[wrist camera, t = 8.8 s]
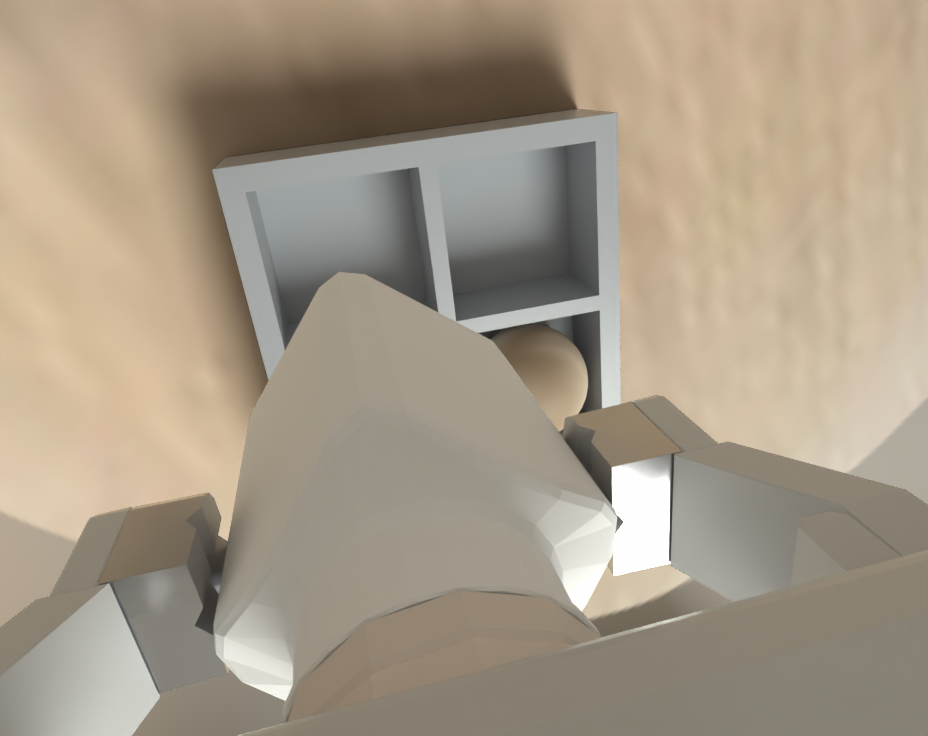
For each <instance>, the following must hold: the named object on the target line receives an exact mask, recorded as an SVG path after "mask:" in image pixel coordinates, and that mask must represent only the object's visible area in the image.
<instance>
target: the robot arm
mask: <svg viewBox="0 0 928 736" xmlns="http://www.w3.org/2000/svg"><path fill="white" fill-rule="evenodd" d="M564 439H565V441H566V442H567V444H568V445H569V446H570V448H571V449H572V451H573V452H574V453H575V455H576V456H577V458H578V459H579V460H580V462H581V463H582V464H583V466H584V467H585V469H586V470H587V471H588V473H589V474H590V475H591V477H592V478H593V480H594V481H595V483H596V484H597V485H598V487H599V488H600V489H601V491H602V492H603V494H604V495H605V496H606V498H607V499H608V501H609V502H610V503H611V505H612V506H613V507H614V509H615V510H616V514H617V523H616V532H615V541H614V549H613V555H612V557H611V559H610V561H609V563H608V564H607V565H608V567H609V569H610V570H611V572H612V573H613V575H614V576H615V575H620V574H624V573H629V572H633V571H637V570H642V569H646V568H651V567H655V566H660V565H664V564H669V563H671V566H672V567H674V568H676V569H677V570H679V571H681V572H683V573H684V574H686V575H688V576H690V577H691V578H693V579H695V580H697V581H698V582H700V583H702V584H704V585H705V586H707V587H709V588H710V589H712V590H714V591H716V592H717V593H719V594H721V595H723V596H724V597H726V598H728V599H730V600H732V601H733V602H732V603H728V604H725V605H721V606H717V607H713V608H709V609H706V610H702V611H698V612H695V613H691V614H687V615H683V616H680V617H676V618H672V619H669V620H665V621H661V622H657V623H654V624H650V625H646V626H643V627H639V628H635V629H631V630H628V631H624V632H620V633H617V634H613V635H609V636H605V637H602V638H598V639H594V640H591V641H587V642H583V643H579V644H576V645H572V646H568V647H565V648H561V649H557V650H553V651H550V652H546V653H542V654H539V655H535V656H531V657H528V658H524V659H520V660H517V661H513V662H509V663H506V664H502V665H498V666H494V667H491V668H487V669H483V670H480V671H476V672H472V673H468V674H465V675H461V676H457V677H454V678H450V679H446V680H442V681H439V682H435V683H431V684H428V685H424V686H420V687H416V688H413V689H409V690H405V691H402V692H398V693H394V694H390V695H387V696H383V697H379V698H376V699H372V700H368V701H364V702H361V703H357V704H353V705H350V706H346V707H342V708H338V709H335V710H331V711H327V712H323V713H320V714H316V715H312V716H309V717H305V718H301V719H297V720H294V721H290V722H286V723H283V724H279V725H275V726H271V727H268V728H264V729H260V730H257V731H253V732H249V733H246V734H242V735H238V736H928V505H927V504H926V503H924V502H923V501H922V500H920V499H919V498H917V497H916V496H914V495H913V494H911V493H910V492H908V491H907V490H905V489H901V488H897V487H894V486H890V485H886V484H883V483H879V482H875V481H871V480H868V479H864V478H860V477H857V476H853V475H849V474H846V473H842V472H838V471H835V470H831V469H827V468H824V467H820V466H816V465H812V464H809V463H805V462H801V461H798V460H794V459H790V458H787V457H783V456H779V455H776V454H772V453H768V452H764V451H761V450H757V449H753V448H750V447H746V446H742V445H739V444H735V443H731V442H724V443H720V444H718V443H717V442H716V441H715V440H714V439H712V438H711V437H710V436H709V435H708V434H707V433H705V432H704V431H703V430H702V429H701V428H700V427H699V426H697V425H696V424H695V423H694V422H693V421H692V420H690V419H689V418H688V417H687V416H686V415H685V414H684V413H682V412H681V411H680V410H679V409H678V408H677V407H675V406H674V405H673V404H672V403H671V402H670V401H668V400H667V399H666V398H665V397H663V396H659V395H655V396H651V397H647V398H643V399H639V400H635V401H631V402H627V403H623V404H619V405H615V406H610V407H606V408H602V409H598V410H594V411H590V412H585V413H581V414H577V415H573V416H569V417H566V418H565V422H564ZM220 522H221V515H220V513H219V510H218V507H217V505H216V502H215V499H214V498H213V497H212V496H211V494H210V493H209V492H208V493H203V494H198V495H193V496H188V497H183V498H178V499H172V500H167V501H162V502H157V503H152V504H147V505H141V506H136V507H134V508H132V507H129V508H124V509H120V510H116V511H111V512H107V513H103V514H99V515H96V516H94V517H91V518H90V519H89V520H88V522H87V524H86V526H85V528H84V530H83V532H82V534H81V535H80V537H79V539H78V541H77V543H76V545H75V547H74V549H73V551H72V553H71V555H70V557H69V559H68V561H67V563H66V565H65V567H64V569H63V571H62V573H61V575H60V577H59V578H58V580H57V582H56V584H55V587H54V588H53V590H52V592H51V594H50V596H49V597H46V598H41V599H37V600H35V601H34V602H33V603H31V604H30V605H29V606H27V607H26V608H25V609H23V610H22V611H21V612H19V613H18V614H17V615H16V616H14V617H13V618H12V619H10V620H9V621H8V622H6V623H5V624H4V625H3V626H1V627H0V736H131V735H132V734H133V733H134V731H135V730H136V729H137V727H138V726H139V725H140V723H141V722H142V721H143V719H144V718H145V717H146V715H147V714H148V713H149V711H150V710H151V709H152V707H153V706H154V704H155V703H156V702H157V700H158V699H159V698H160V696H159V693H163V692H166V691H170V690H173V689H177V688H181V687H184V686H187V685H191V684H195V683H198V682H202V681H205V680H209V679H213V678H216V677H220V676H223V675H226V674H228V671H229V667H228V666H227V665H226V664H225V663H224V662H223V661H222V660H221V659H220V658H219V657H218V656H217V655H216V652H215V648H214V627H213V624H214V618H215V613H216V607H217V601H218V596H219V590H220V584H221V578H222V573H223V567H224V561H225V556H226V550H227V544H228V541H226V540H225V539H223V538H221V537H220V536H218V533H219V527H220Z"/></svg>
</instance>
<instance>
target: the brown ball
mask: <svg viewBox="0 0 928 736" xmlns="http://www.w3.org/2000/svg"><path fill="white" fill-rule="evenodd" d="M490 340H492V341H493V342H494V343H495V345H496V346H497V347H498V348H499V350H500V351H501V352H502V354H503V355H504V356H505V357H506V359H507V360H508V362H509V363H510V364H511V366H512V367H513V369H514V370H515V371H516V373H517V374H518V376H519V377H520V378H521V380H522V381H523V382H524V384H525V385H526V387H527V388H528V389H529V391H530V392H531V394H532V395H533V396H534V398H535V399H536V401H537V402H538V403H539V405H540V406H541V407H542V409H543V410H544V412H545V413H546V414H547V416H548V417H549V419H550V420H551V421H552V423H553V424H554V425H555V427H556V428H557V430H558V431H561V430H563V429H564V422H565V418H566V417H569V416H573V415H577V414H578V413H579V412H580V410H581V408H582V406H583V404H584V402H585V399H586V395H587V389H588V374H587V368H586V364H585V362H584V360H583V357H582V355H581V353H580V351H579V350H578V348H577V347H576V346H575V345H574V343H573V342H572V341H571V340H570V339H569V338H567V337H566V336H565V335H564V334H562V333H561V332H559V331H557V330H555V329H553V328H550V327H547V326H544V325H539V324H524V325H518V326H513V327H510V328H507V329H505V330H503V331H501V332H499V333H498V334H496V335H495V336H494V337H492V338H491V339H490Z"/></svg>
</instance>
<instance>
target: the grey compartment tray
mask: <svg viewBox="0 0 928 736" xmlns="http://www.w3.org/2000/svg"><path fill="white" fill-rule="evenodd" d="M212 172H213V175H214V179H215V183H216V187H217V190H218V194H219V198H220V201H221V205H222V209H223V213H224V216H225V220H226V224H227V228H228V231H229V235H230V239H231V243H232V246H233V250H234V254H235V258H236V261H237V265H238V269H239V273H240V276H241V280H242V284H243V288H244V291H245V295H246V299H247V302H248V306H249V310H250V314H251V317H252V321H253V325H254V329H255V332H256V336H257V340H258V344H259V347H260V351H261V355H262V359H263V362H264V366H265V370H266V374H267V377H268V381H269V379H270V377H271V375H272V374H273V372H274V370H275V368H276V366H277V364H278V362H279V361H280V359H281V357H282V355H283V353H284V351H285V350H286V348H287V346H288V344H289V342H290V340H291V338H292V337H293V335H294V333H295V331H296V329H297V327H298V325H299V324H300V322H301V320H302V318H303V316H304V314H305V313H306V311H307V309H308V307H309V305H310V303H311V301H312V300H313V298H314V296H315V294H316V292H317V290H318V289H319V287H320V286H322V285H323V284H324V283H326V282H327V281H328V280H329V279H331V278H332V277H333V276H334V275H336V274H337V273H338V272H346V273H356V274H365V275H367V276H369V277H371V278H373V279H375V280H377V281H379V282H381V283H383V284H385V285H387V286H388V287H390V288H392V289H394V290H396V291H398V292H400V293H402V294H404V295H406V296H408V297H410V298H411V299H413V300H415V301H417V302H419V303H421V304H423V305H425V306H427V307H429V308H431V309H433V310H434V311H436V312H438V313H440V314H442V315H444V316H446V317H448V318H450V319H452V320H454V321H456V322H457V323H459V324H461V325H463V326H465V327H467V328H469V329H471V330H473V331H475V332H477V333H478V334H480V335H482V336H484V337H486V338H488V339H491V338H492V337H494V336H495V335H496V334H498V333H499V332H501V331H503V330H505V329H507V328H510V327H513V326H518V325H524V324H539V325H544V326H547V327H550V328H553V329H555V330H557V331H559V332H561V333H562V334H564V335H565V336H566V337H567V338H569V339H570V340H571V341H572V342H573V343H574V345H575V346H576V347H577V348H578V350H579V351H580V353H581V355H582V357H583V360H584V362H585V364H586V368H587V374H588V389H587V395H586V399H585V402H584V404H583V406H582V408H581V410H580V412H579V413H578V414H581V413H585V412H590V411H594V410H598V409H602V408H606V407H610V406H615V405H619V404H621V397H620V301H619V205H618V113H615V112H604V111H594V110H584V109H573V110H566V111H559V112H552V113H544V114H537V115H530V116H523V117H515V118H508V119H501V120H493V121H486V122H479V123H472V124H464V125H457V126H450V127H443V128H435V129H428V130H421V131H414V132H406V133H399V134H392V135H385V136H377V137H370V138H363V139H356V140H348V141H341V142H334V143H326V144H319V145H312V146H305V147H297V148H290V149H283V150H276V151H268V152H261V153H254V154H247V155H239V156H232V157H226V158H224V159H223V160H222V161H221V162H220V163H219V164H218V165H217V166H215V167H214V168H213V169H212ZM559 432H560V434H561V435H562V437H563V438H564V429H563V430H561V431H559Z"/></svg>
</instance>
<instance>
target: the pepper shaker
mask: <svg viewBox="0 0 928 736" xmlns="http://www.w3.org/2000/svg"><path fill="white" fill-rule="evenodd" d="M616 523H617V514H616V510H615V509H614V507H613V506H612V505H611V503H610V502H609V501H608V499H607V498H606V496H605V495H604V494H603V492H602V491H601V489H600V488H599V487H598V485H597V484H596V483H595V481H594V480H593V478H592V477H591V475H590V474H589V473H588V471H587V470H586V469H585V467H584V466H583V464H582V463H581V462H580V460H579V459H578V458H577V456H576V455H575V453H574V452H573V451H572V449H571V448H570V446H569V445H568V444H567V442H566V441H565V439H564V438H563V437H562V435H561V434H560V432H559V431H558V430H557V428H556V427H555V425H554V424H553V423H552V421H551V420H550V419H549V417H548V416H547V414H546V413H545V412H544V410H543V409H542V407H541V406H540V405H539V403H538V402H537V401H536V399H535V398H534V396H533V395H532V394H531V392H530V391H529V389H528V388H527V387H526V385H525V384H524V382H523V381H522V380H521V378H520V377H519V376H518V374H517V373H516V371H515V370H514V369H513V367H512V366H511V364H510V363H509V362H508V360H507V359H506V357H505V356H504V355H503V354H502V352H501V351H500V350H499V348H498V347H497V346H496V345H495V343H494V342H493V341H492V340H490V339H488V338H486V337H484V336H482V335H480V334H478V333H477V332H475V331H473V330H471V329H469V328H467V327H465V326H463V325H461V324H459V323H457V322H456V321H454V320H452V319H450V318H448V317H446V316H444V315H442V314H440V313H438V312H436V311H434V310H433V309H431V308H429V307H427V306H425V305H423V304H421V303H419V302H417V301H415V300H413V299H411V298H410V297H408V296H406V295H404V294H402V293H400V292H398V291H396V290H394V289H392V288H390V287H388V286H387V285H385V284H383V283H381V282H379V281H377V280H375V279H373V278H371V277H369V276H367V275H365V274H356V273H346V272H338V273H337V274H336V275H334V276H333V277H332V278H331V279H329V280H328V281H327V282H326V283H324V284H323V285H322V286H320V287H319V289H318V290H317V292H316V294H315V296H314V298H313V300H312V301H311V303H310V305H309V307H308V309H307V311H306V313H305V314H304V316H303V318H302V320H301V322H300V324H299V325H298V327H297V329H296V331H295V333H294V335H293V337H292V338H291V340H290V342H289V344H288V346H287V348H286V350H285V351H284V353H283V355H282V357H281V359H280V361H279V362H278V364H277V366H276V368H275V370H274V372H273V374H272V375H271V377H270V379H269V381H268V383H267V385H266V387H265V388H264V390H263V392H262V394H261V396H260V398H259V400H258V401H257V403H256V405H255V407H254V409H253V411H252V413H251V414H250V418H249V424H248V430H247V436H246V441H245V447H244V453H243V458H242V464H241V470H240V476H239V481H238V487H237V493H236V498H235V504H234V510H233V516H232V521H231V527H230V533H229V538H228V544H227V550H226V556H225V561H224V567H223V573H222V578H221V584H220V590H219V596H218V601H217V607H216V613H215V618H214V624H213V627H214V648H215V652H216V655H217V656H218V657H219V658H220V659H221V660H222V661H223V662H224V663H225V664H226V665H227V666H228V667H229V669H230V670H231V671H232V672H233V673H234V674H235V675H236V676H237V677H238V678H239V679H240V680H241V681H242V682H243V683H246V684H248V685H250V686H253V687H255V688H257V689H260V690H262V691H264V692H266V693H269V694H271V695H273V696H276V697H278V698H280V699H283V700H285V701H286V702H285V704H284V706H283V711H282V723H281V724H283V723H286V722H290V721H294V720H297V719H301V718H305V717H309V716H312V715H316V714H320V713H323V712H327V711H331V710H335V709H338V708H342V707H346V706H350V705H353V704H357V703H361V702H364V701H368V700H372V699H376V698H379V697H383V696H387V695H390V694H394V693H398V692H402V691H405V690H409V689H413V688H416V687H420V686H424V685H428V684H431V683H435V682H439V681H442V680H446V679H450V678H454V677H457V676H461V675H465V674H468V673H472V672H476V671H480V670H483V669H487V668H491V667H494V666H498V665H502V664H506V663H509V662H513V661H517V660H520V659H524V658H528V657H531V656H535V655H539V654H542V653H546V652H550V651H553V650H557V649H561V648H565V647H568V646H572V645H576V644H579V643H583V642H587V641H591V640H594V639H598V638H601V636H600V634H599V632H598V630H597V628H596V627H595V626H594V625H593V624H592V623H591V621H590V620H589V619H588V618H587V617H586V616H585V615H584V614H583V613H582V612H581V611H582V610H583V609H584V607H585V606H586V604H587V602H588V600H589V598H590V596H591V595H592V593H593V591H594V589H595V587H596V585H597V583H598V581H599V579H600V578H601V576H602V574H603V572H604V570H605V568H606V566H607V564H608V563H609V561H610V559H611V557H612V555H613V549H614V541H615V532H616Z"/></svg>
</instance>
